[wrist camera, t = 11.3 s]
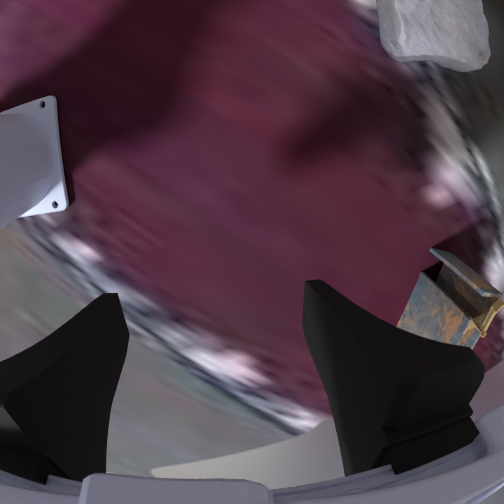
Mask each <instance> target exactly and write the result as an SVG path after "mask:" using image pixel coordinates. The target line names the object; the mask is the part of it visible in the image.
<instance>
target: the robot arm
mask: <svg viewBox="0 0 504 504" xmlns="http://www.w3.org/2000/svg"><path fill="white" fill-rule="evenodd" d="M43 102H45V107H44V108H43V107H42V103H43ZM55 201H56V202H57V203H58V207H56V206H55V204H54V202H55ZM68 205H69V200H68V195H67V189H66V183H65V177H64V170H63V163H62V155H61V147H60V138H59V128H58V115H57V101H56V98H55V97H54V96H46V97H43V98H40V99H37V100H34V101H31V102H28V103H25V104H22V105H19V106H17V107H14V108H11V109H9V110H6V111H3V112H1V113H0V230H1V229H2V228H3V227H5V226H6V225H8V224H9V223H11V222H12V221H14V220H15V219H17V218H19V217H25V216H31V215H37V214H44V213H50V212H57V211H63V210H65V209H66V208H67V207H68ZM302 325H303V329H304V333H305V338H306V341H307V345H308V348H309V350H310V353H311V355H312V358H313V360H314V363H315V365H316V368H317V370H318V373H319V375H320V378H321V380H322V383H323V385H324V387H325V390H326V393H327V396H328V399H329V403H330V407H331V411H332V415H333V419H334V422H335V427H336V432H337V436H338V441H339V446H340V450H341V456H342V461H343V467H344V473H345V477H342V478H337V479H333V480H329V481H323V482H318V483H313V484H308V485H302V486H296V487H288V488H282V489H273V490H269V489H268V488H267V487H266V486H265V485H263V484H261V483H256V482H252V481H248V480H243V479H171V478H170V479H169V478H153V477H140V476H129V475H121V474H113V473H106V450H107V437H108V427H109V419H110V412H111V406H112V402H113V398H114V395H115V391H116V388H117V384H118V381H119V378H120V374H121V371H122V368H123V365H124V361H125V358H126V354H127V348H128V341H129V335H130V334H129V331H128V328H127V324H126V321H125V318H124V314H123V311H122V307H121V304H120V300H119V297H118V293H104V294H102V295H100V296H99V297H98V298H96V299H95V300H94V301H92V302H91V303H90V304H89V305H87V306H86V307H85V308H84V309H82V310H81V311H80V312H79V313H77V314H76V315H75V316H74V317H73V318H71V319H70V320H69V321H67V322H66V323H65V324H63V325H62V326H61V327H60V328H58V329H57V330H56V331H54V332H53V333H52V334H50V335H49V336H47V337H46V338H44V339H43V340H41V341H40V342H38V343H36V344H35V345H33V346H31V347H30V348H28V349H26V350H24V351H22V352H20V353H18V354H16V355H14V356H12V357H10V358H8V359H6V360H3V361H1V362H0V504H477V503H478V502H480V501H482V500H483V499H485V498H486V497H488V496H490V495H491V494H493V493H494V492H496V491H497V490H498V489H499V488H501V487H502V486H503V485H504V407H503V406H501V407H499V408H497V409H495V410H493V411H491V412H490V413H488V414H486V415H484V416H482V417H480V418H479V419H478V420H477V421H475V422H473V421H472V419H471V418H470V416H471V415H472V414H473V410H472V408H471V407H470V406H469V402H470V401H471V400H472V398H473V396H474V395H475V393H476V391H477V390H478V388H479V386H480V384H481V382H482V380H483V378H484V373H485V366H484V364H483V362H482V361H481V360H480V359H479V357H478V356H477V355H476V354H475V353H474V351H473V350H472V349H471V348H470V347H465V346H460V345H454V344H448V343H443V342H439V341H436V340H432V339H428V338H425V337H422V336H419V335H416V334H413V333H411V332H408V331H405V330H403V329H400V328H398V327H396V326H394V325H391V324H389V323H387V322H385V321H383V320H381V319H379V318H378V317H376V316H374V315H372V314H371V313H369V312H367V311H366V310H364V309H362V308H361V307H359V306H358V305H356V304H355V303H353V302H352V301H350V300H349V299H347V298H346V297H345V296H343V295H342V294H340V293H339V292H338V291H336V290H335V289H334V288H332V287H331V286H329V285H328V284H327V283H325V282H324V281H322V280H321V279H320V280H308V281H305V289H304V305H303V320H302Z"/></svg>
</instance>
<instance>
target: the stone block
mask: <svg viewBox="0 0 504 504" xmlns="http://www.w3.org/2000/svg"><path fill="white" fill-rule="evenodd" d="M376 2H377V8H378V21H379V32H380V40H381V43H382V46H383V48H384V49H385V50H386V52H387V53H388V54H389V55H390V57H391V58H392V59H394V60H396V61H398V62H409V61H425V60H430V61H433V62H435V63H438V64H439V65H441V66H443V67H446V68H450V69H452V70H455V71H459V72H469V71H473V70H478V69H481V68H482V67H483V65H485V64H487V63H488V59H489V57H490V55H491V54H490V47H489V44H488V36H489V30H488V24H487V20H486V18H485V16H484V14H483V8H482V6H483V5H482V1H481V0H376Z"/></svg>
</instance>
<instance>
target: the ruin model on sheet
mask: <svg viewBox="0 0 504 504" xmlns="http://www.w3.org/2000/svg"><path fill="white" fill-rule="evenodd" d="M429 251H430V252H431V253H432V254H434V255H435V256H436V257H437V258H438V259H440V260H441V261H442V262H443V266H442V268H441V270H440V273H439V275H438V277H437V280H436V282H434V281H433V280H432V279H431V278H430V277H429V276H428V275H426V274H425V273H424V272H421V273H420V276H419V279H418V281H417V283H416V286H415V288H414V290H413V292H412V295H411V297H410V299H409V301H408V303H407V306H406V308H405V310H404V312H403V314H402V316H401V318H400V320H399V322H398V324H397V326H396V327H398V328H400V329H403V330H405V331H408V332H411V333H413V334H416V335H419V336H422V337H425V338H428V339H432V340H436V341H439V342H443V343H448V344H454V345H460V346H465V347H470V348H471V349H473V347H474V346H475V344H476V342H477V341H478V339H479V337H480V336H481V337H485V336H486V334H487V333H486V330H487V328H488V326H489V325H490V323H491V321H492V319H493V317H494V315H495V314H496V313H497V312H498V311H499V310H500V309H501V308H502V307H503V306H504V302H503V301H502V300H501V299H500V298H501V296H502V294H501V293H500V292H499V291H498V290H497V289H496V288H494V287H493V286H492V285H491V284H490V283H488V282H487V281H486V280H485V279H484V278H482V277H481V276H480V275H479V274H477V273H476V272H475V271H474V270H473V269H471V268H470V267H469V266H467V265H466V264H465V263H464V262H462V261H461V260H460V259H459V258H457V257H456V256H455V255H453V254H452V253H451V252H447V251H443V250H438V249H434V248H430V250H429Z"/></svg>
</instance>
